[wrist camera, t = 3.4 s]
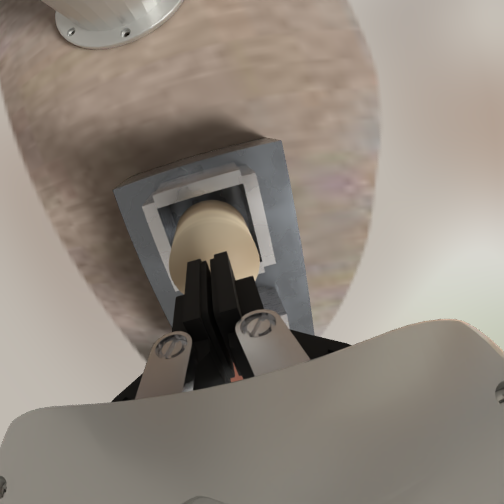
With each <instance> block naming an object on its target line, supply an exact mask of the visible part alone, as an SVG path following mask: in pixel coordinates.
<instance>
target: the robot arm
mask: <svg viewBox="0 0 504 504" xmlns="http://www.w3.org/2000/svg"><path fill="white" fill-rule="evenodd" d="M41 1H42V2H44V3H45V4H47V5H48V6H50V7H51V8H53V9H54V10H55V21H56V26H57V28H58V30H59V32H60V34H61V35H62V36H63V37H64V38H65V39H66V40H67V41H69V42H71V43H72V44H74V45H76V46H79V47H82V48H86V49H94V50H96V49H109V48H113V47H118V46H122V45H125V44H127V43H130V42H133V41H135V40H137V39H139V38H141V37H143V36H146V35H147V34H149V33H150V32H152V31H153V30H155V29H157V28H158V27H159V26H161V25H162V24H163V23H164V22H166V21H167V20H168V19H169V18H170V17H171V16H172V15H173V14H174V13H175V12H176V11H177V10H178V8H179V7H180V5H181V4H182V2H183V1H184V0H41ZM128 33H130V34H129V36H127V37H125V36H126V34H128ZM233 363H234V365H235V368H236V370H237V372H238V375H239V376H242V377H243V380H239V381H235V382H231V379H230V378H234V377H235V372H234V365H233ZM0 504H504V351H503V350H502V349H501V348H500V347H499V346H498V345H497V344H496V343H494V342H493V341H492V340H491V339H490V338H489V337H487V336H486V335H485V334H484V333H482V332H481V331H480V330H478V329H477V328H476V327H474V326H472V325H470V324H469V323H466V322H464V321H461V320H457V319H437V320H429V321H423V322H419V323H415V324H410V325H407V326H404V327H401V328H398V329H395V330H392V331H389V332H386V333H384V334H381V335H379V336H376V337H373V338H371V339H368V340H365V341H363V342H360V343H357V344H355V345H349V344H347V343H342V342H338V341H334V340H330V339H326V338H322V337H318V336H314V335H310V334H306V333H302V332H298V331H295V330H291V329H289V328H288V327H287V325H286V324H285V323H284V321H283V320H282V318H281V317H280V316H279V315H278V314H277V313H276V312H274V311H272V310H266V309H264V307H263V304H262V301H261V298H260V295H259V292H258V289H257V286H256V283H255V280H254V277H253V276H249V277H246V278H242V279H239V280H235V276H234V273H233V270H232V266H231V263H230V260H229V257H228V253H227V251H225V252H221V253H218V254H214V258H213V259H210V269H209V266H208V264H207V261H201V259H197V260H193V261H190V262H187V271H186V282H185V293H184V295H180V296H177V297H176V300H175V308H174V316H173V326H172V332H171V333H168V334H166V335H163V336H162V337H161V338H159V339H158V340H157V341H156V342H155V343H154V345H153V347H152V349H151V351H150V354H149V357H148V360H147V363H146V367H145V369H144V372H143V374H141V376H139V377H138V378H137V379H136V380H135V381H134V382H132V383H131V384H130V385H129V386H128V387H127V388H126V389H125V390H124V391H122V392H121V393H120V394H119V395H118V396H117V397H115V398H114V400H113V401H112V402H110V403H98V404H83V405H67V406H52V407H45V408H39V409H36V410H32V411H29V412H27V413H25V414H23V415H21V416H19V417H17V418H16V419H15V420H14V421H12V423H11V424H10V426H9V428H8V430H7V432H6V434H5V437H4V439H3V441H2V445H1V447H0Z"/></svg>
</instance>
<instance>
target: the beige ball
mask: <svg viewBox="0 0 504 504" xmlns="http://www.w3.org/2000/svg"><path fill="white" fill-rule="evenodd" d="M225 251H227V253H228V257H229V260H230V263H231V266H232V270H233V273H234V276H235V280H239V279H242V278H246V277H249V276H253V277H254V280H256V278H257V276H258V272H259V267H260V258H259V253H258V250H257V248H256V245H255V243H254V241H253V238H252V236H251V234H250V232H249V229H248V227H247V225H246V222H245V220H244V218H243V216H242V215H241V213H240V212H239V211H238V210H237V209H236V208H234V207H233V206H232V205H230V204H228V203H226V202H223V201H218V200H206V201H201V202H199V203H196V204H194V205H192V206H191V207H189V208H188V209H187V210H186V211H185V212H184V213H183V214H182V216H181V217H180V219H179V221H178V224H177V227H176V231H175V236H174V240H173V244H172V248H171V253H170V257H169V272H170V276H171V279H172V281H173V283H174V284H175V286H176V287H177V288H178V290H179V291H180V292H181V293H183V294H184V293H185V282H186V271H187V262H190V261H193V260H197V259H201V261H207V264H208V266H209V269H210V259H213V258H214V254H218V253H221V252H225Z"/></svg>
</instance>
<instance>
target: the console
mask: <svg viewBox="0 0 504 504" xmlns="http://www.w3.org/2000/svg"><path fill="white" fill-rule="evenodd" d="M113 192H114V195H115V198H116V201H117V203H118V206H119V209H120V212H121V214H122V217H123V220H124V222H125V225H126V227H127V230H128V232H129V235H130V237H131V240H132V242H133V245H134V247H135V250H136V252H137V254H138V257H139V259H140V261H141V264H142V266H143V268H144V270H145V273H146V275H147V277H148V279H149V282H150V284H151V286H152V288H153V290H154V292H155V294H156V296H157V299H158V301H159V303H160V305H161V307H162V309H163V311H164V313H165V315H166V317H167V319H168V321H169V323H170V325H171V327H172V326H173V316H174V308H175V300H176V297H177V296H180V295H184V294H183V293H181V292H180V291H179V290H178V288H177V287H176V286H175V284H174V283H173V281H172V279H171V276H170V272H169V257H170V253H171V248H172V244H173V240H174V236H175V231H176V227H177V224H178V221H179V219H180V217H181V216H182V214H183V213H184V212H185V211H186V210H187V209H188V208H189V207H191V206H192V205H194V204H196V203H199V202H201V201H206V200H218V201H223V202H226V203H228V204H230V205H232V206H233V207H234V208H236V209H237V210H238V211H239V212H240V213H241V215H242V216H243V218H244V220H245V222H246V225H247V227H248V229H249V232H250V234H251V236H252V238H253V241H254V243H255V245H256V248H257V250H258V253H259V258H260V267H259V272H258V276H257V278H256V280H255V283H256V286H257V289H258V292H259V295H260V298H261V301H262V304H263V307H264V309H266V310H272V311H274V312H276V313H277V314H278V315H279V316H280V317H281V318H282V320H283V321H284V323H285V324H286V325H287V327H288V328H289V329H291V330H295V331H298V332H302V333H306V334H310V335H314V329H313V321H312V313H311V306H310V298H309V291H308V285H307V278H306V271H305V265H304V258H303V252H302V246H301V240H300V234H299V228H298V223H297V217H296V211H295V206H294V201H293V195H292V190H291V185H290V180H289V175H288V170H287V165H286V160H285V155H284V150H283V146H282V141H281V140H277V139H271V138H262V139H258V140H253V141H249V142H245V143H241V144H237V145H233V146H229V147H225V148H221V149H218V150H214V151H210V152H207V153H203V154H200V155H196V156H193V157H190V158H186V159H183V160H180V161H177V162H173V163H170V164H167V165H164V166H161V167H158V168H155V169H152V170H149V171H146V172H144V173H141V174H138V175H135V176H133V177H130V178H128V179H127V180H126V181H124V182H123V183H122V184H120V185H119V186H118V187H116V188H115V189H114V190H113Z"/></svg>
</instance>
